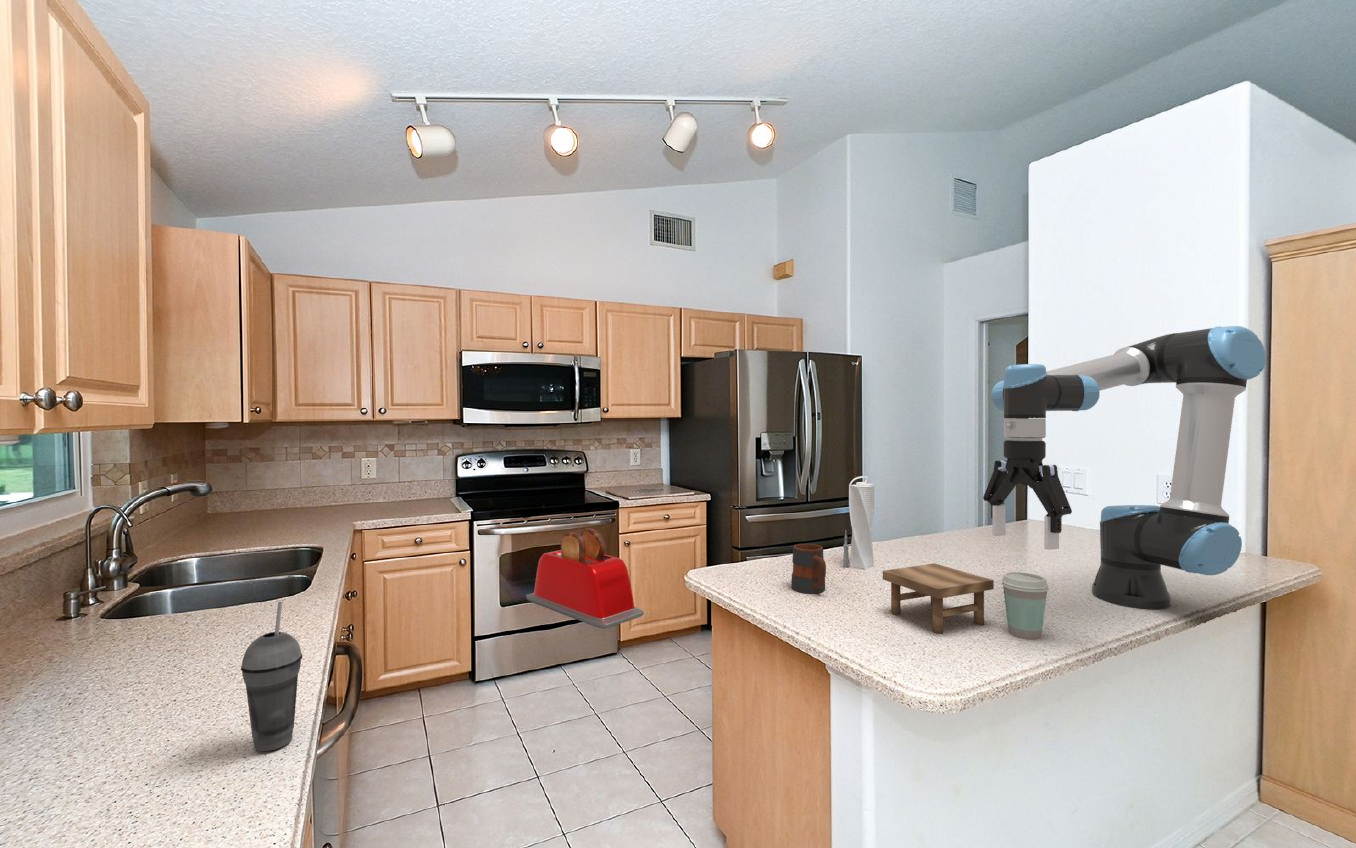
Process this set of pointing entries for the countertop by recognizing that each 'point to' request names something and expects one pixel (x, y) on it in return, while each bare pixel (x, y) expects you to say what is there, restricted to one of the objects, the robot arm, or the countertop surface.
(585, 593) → the toaster
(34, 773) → the countertop surface
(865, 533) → the skyscraper
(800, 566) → the mug
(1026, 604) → the coffee cup
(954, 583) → the stool
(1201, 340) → the robot arm
